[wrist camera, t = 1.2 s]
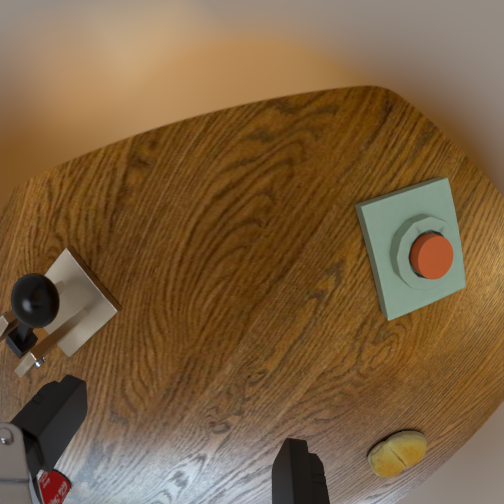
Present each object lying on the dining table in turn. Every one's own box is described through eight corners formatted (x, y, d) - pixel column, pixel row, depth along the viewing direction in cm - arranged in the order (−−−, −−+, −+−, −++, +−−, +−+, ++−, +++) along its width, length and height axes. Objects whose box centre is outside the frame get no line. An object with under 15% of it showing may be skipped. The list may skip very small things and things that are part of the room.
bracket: (71, 245, 31) (1, 275, 20) (122, 307, 33) (68, 361, 21) (29, 299, 33) (-30, 337, 22) (73, 353, 35) (24, 405, 23)
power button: (405, 240, 27) (414, 244, 25) (440, 227, 26) (449, 230, 24) (413, 280, 27) (421, 286, 26) (447, 266, 27) (456, 270, 25)
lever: (42, 254, 17) (2, 282, 14) (75, 297, 18) (37, 330, 15) (21, 319, 25) (-3, 339, 22) (43, 347, 26) (20, 369, 23)
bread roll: (427, 444, 37) (436, 460, 33) (377, 472, 38) (383, 490, 34) (415, 417, 35) (425, 436, 32) (359, 449, 37) (365, 469, 33)
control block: (354, 204, 30) (366, 208, 26) (437, 177, 29) (457, 177, 25) (381, 312, 32) (394, 328, 28) (456, 280, 31) (474, 292, 27)
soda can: (67, 489, 43) (46, 527, 32) (43, 471, 43) (19, 507, 31) (76, 482, 42) (54, 524, 31) (50, 463, 41) (25, 503, 30)
